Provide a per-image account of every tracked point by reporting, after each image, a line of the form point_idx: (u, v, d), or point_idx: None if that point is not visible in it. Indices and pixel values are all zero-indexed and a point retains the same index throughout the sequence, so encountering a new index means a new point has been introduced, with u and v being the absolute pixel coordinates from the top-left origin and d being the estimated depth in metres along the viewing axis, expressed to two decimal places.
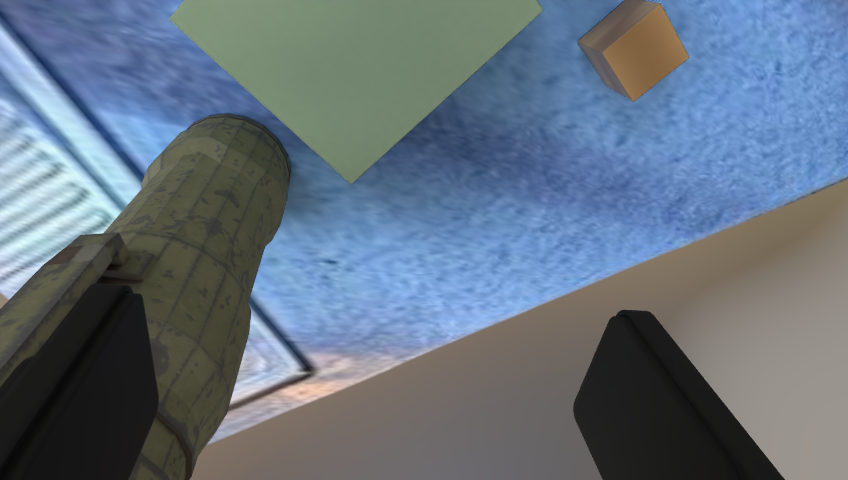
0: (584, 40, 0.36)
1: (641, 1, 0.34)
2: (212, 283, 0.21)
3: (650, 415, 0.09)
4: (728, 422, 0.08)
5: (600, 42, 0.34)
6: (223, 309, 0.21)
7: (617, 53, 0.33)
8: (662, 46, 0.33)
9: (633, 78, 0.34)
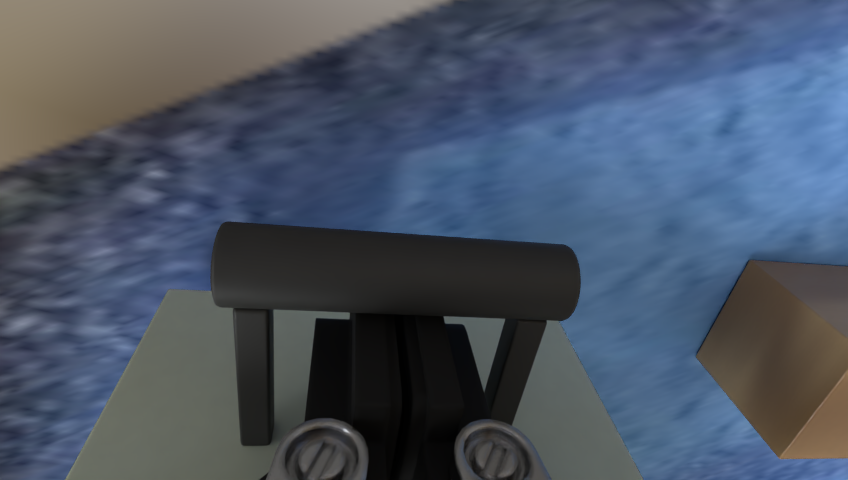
0: (713, 369, 0.18)
1: (794, 301, 0.15)
2: None
3: (399, 358, 0.09)
4: (442, 357, 0.08)
5: (754, 406, 0.16)
6: None
7: (813, 443, 0.15)
8: None
9: None
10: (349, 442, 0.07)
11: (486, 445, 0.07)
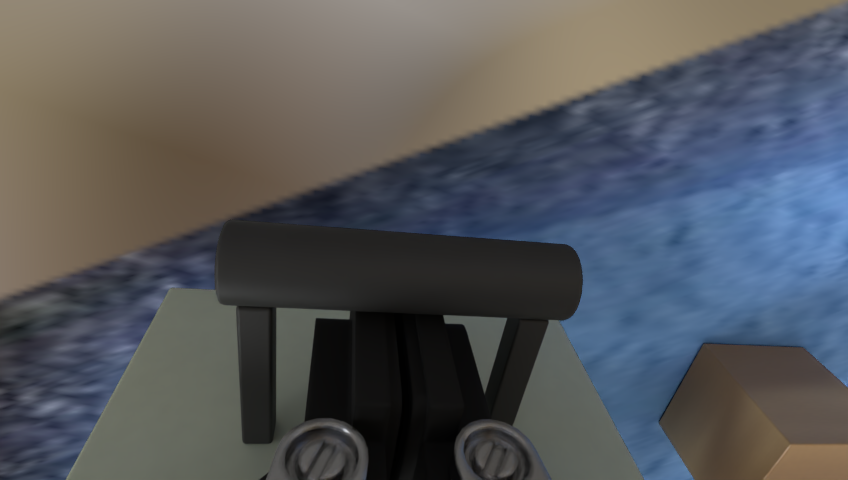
0: (672, 437, 0.20)
1: (738, 388, 0.17)
2: None
3: (399, 358, 0.09)
4: (442, 357, 0.08)
5: (706, 477, 0.18)
6: None
7: None
8: (839, 467, 0.16)
9: None
10: (349, 442, 0.07)
11: (486, 445, 0.07)
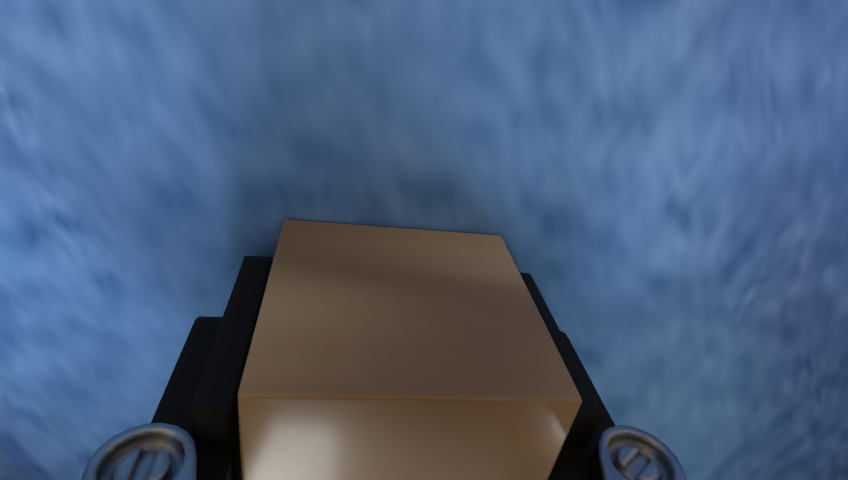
0: None
1: None
2: None
3: None
4: (568, 365, 0.08)
5: None
6: None
7: None
8: None
9: (502, 472, 0.07)
10: (181, 449, 0.06)
11: (627, 450, 0.07)
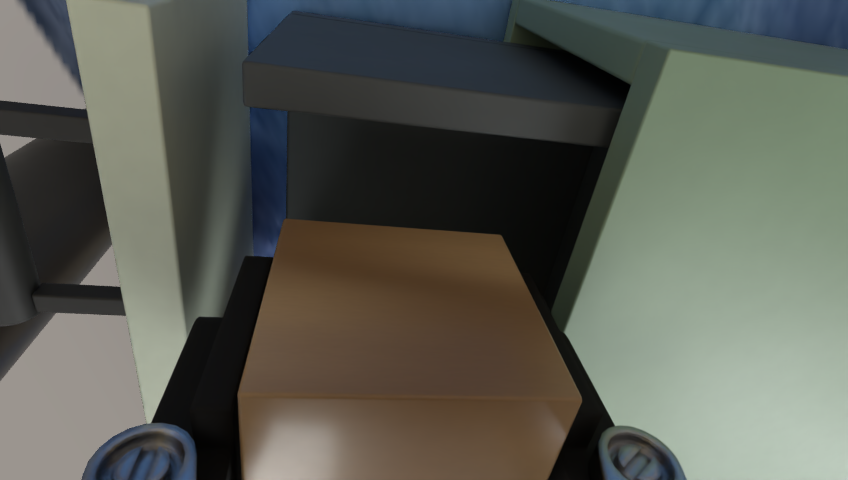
0: None
1: None
2: None
3: None
4: (568, 365, 0.08)
5: None
6: None
7: None
8: None
9: (502, 471, 0.07)
10: (181, 449, 0.06)
11: (627, 450, 0.07)
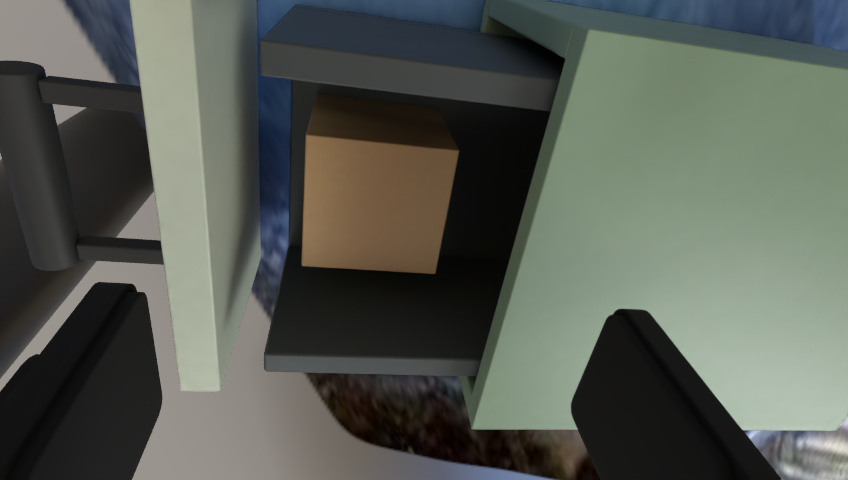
0: None
1: None
2: None
3: (646, 413, 0.09)
4: (724, 420, 0.08)
5: None
6: None
7: (416, 254, 0.17)
8: (342, 201, 0.15)
9: (426, 194, 0.15)
10: None
11: None
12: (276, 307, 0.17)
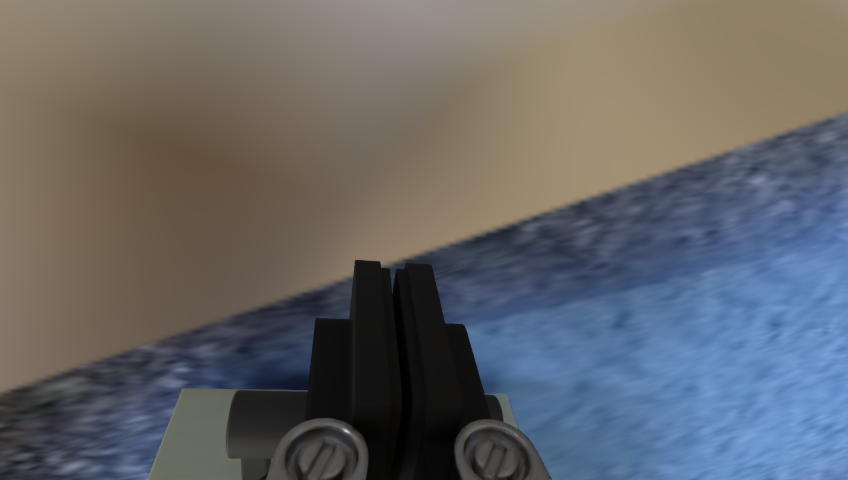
0: None
1: None
2: None
3: (399, 358, 0.09)
4: (442, 357, 0.08)
5: None
6: None
7: None
8: None
9: None
10: (349, 442, 0.07)
11: (486, 445, 0.07)
12: None
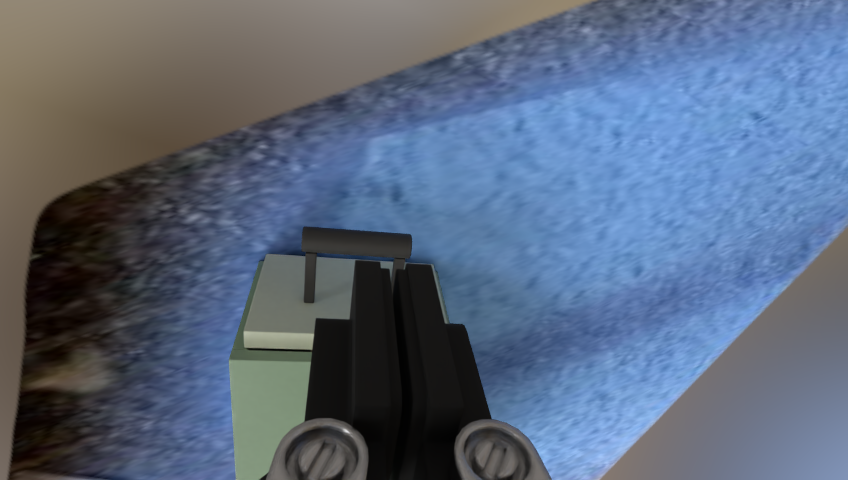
0: None
1: None
2: None
3: (399, 358, 0.09)
4: (442, 357, 0.08)
5: None
6: None
7: None
8: None
9: None
10: (349, 442, 0.07)
11: (486, 445, 0.07)
12: None
